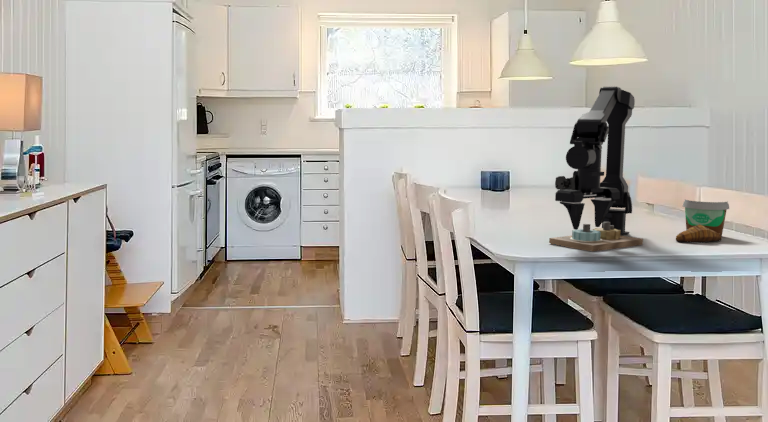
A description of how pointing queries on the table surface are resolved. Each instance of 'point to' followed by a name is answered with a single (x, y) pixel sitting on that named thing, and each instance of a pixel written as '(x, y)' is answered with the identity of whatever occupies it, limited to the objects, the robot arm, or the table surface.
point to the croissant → (698, 235)
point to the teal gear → (586, 235)
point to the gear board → (607, 240)
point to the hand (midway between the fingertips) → (586, 228)
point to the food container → (706, 214)
